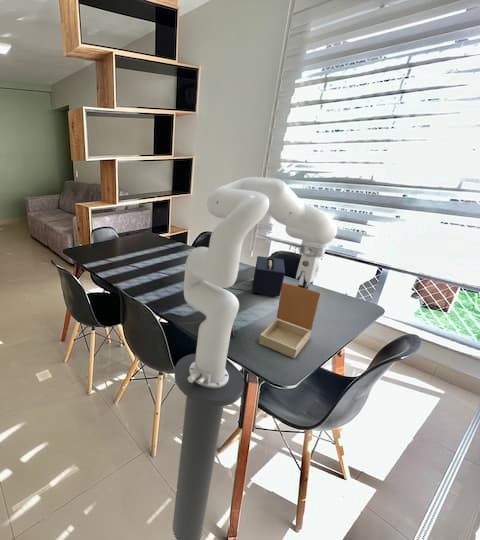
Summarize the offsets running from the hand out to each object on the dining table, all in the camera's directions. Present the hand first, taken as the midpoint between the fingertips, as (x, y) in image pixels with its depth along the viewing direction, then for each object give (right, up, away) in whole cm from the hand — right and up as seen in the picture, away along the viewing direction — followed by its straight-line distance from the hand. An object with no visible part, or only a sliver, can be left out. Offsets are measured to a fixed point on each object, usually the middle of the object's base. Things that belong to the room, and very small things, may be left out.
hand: (300, 295), depth 110 cm
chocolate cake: (-26, -15, +8) cm, 31 cm away
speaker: (+9, 0, +45) cm, 45 cm away
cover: (-1, -4, 0) cm, 4 cm away
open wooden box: (-6, -18, +1) cm, 19 cm away
